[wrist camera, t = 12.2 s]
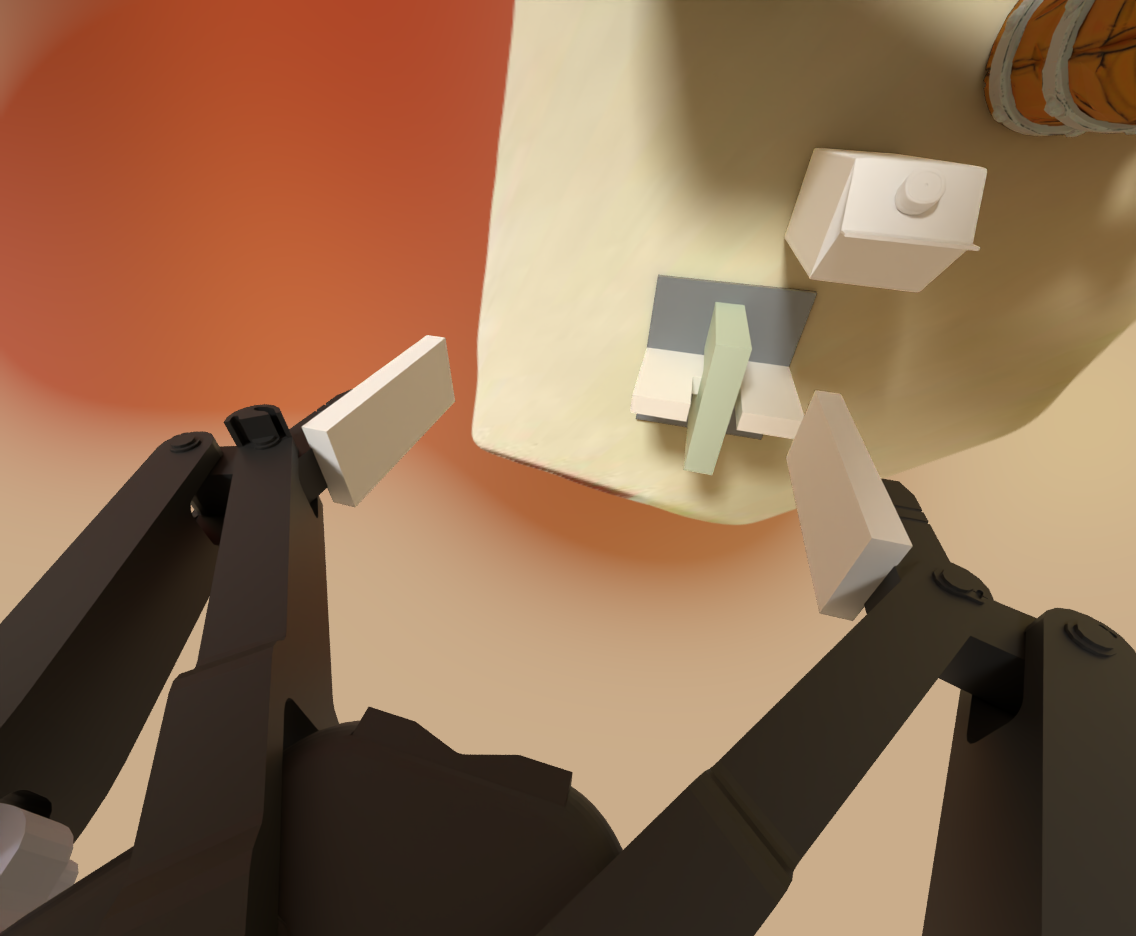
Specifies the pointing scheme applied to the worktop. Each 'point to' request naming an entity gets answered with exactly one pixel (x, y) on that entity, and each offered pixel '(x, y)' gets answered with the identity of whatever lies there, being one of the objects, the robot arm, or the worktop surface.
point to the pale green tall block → (717, 386)
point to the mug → (1065, 68)
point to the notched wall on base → (680, 354)
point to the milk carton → (883, 217)
